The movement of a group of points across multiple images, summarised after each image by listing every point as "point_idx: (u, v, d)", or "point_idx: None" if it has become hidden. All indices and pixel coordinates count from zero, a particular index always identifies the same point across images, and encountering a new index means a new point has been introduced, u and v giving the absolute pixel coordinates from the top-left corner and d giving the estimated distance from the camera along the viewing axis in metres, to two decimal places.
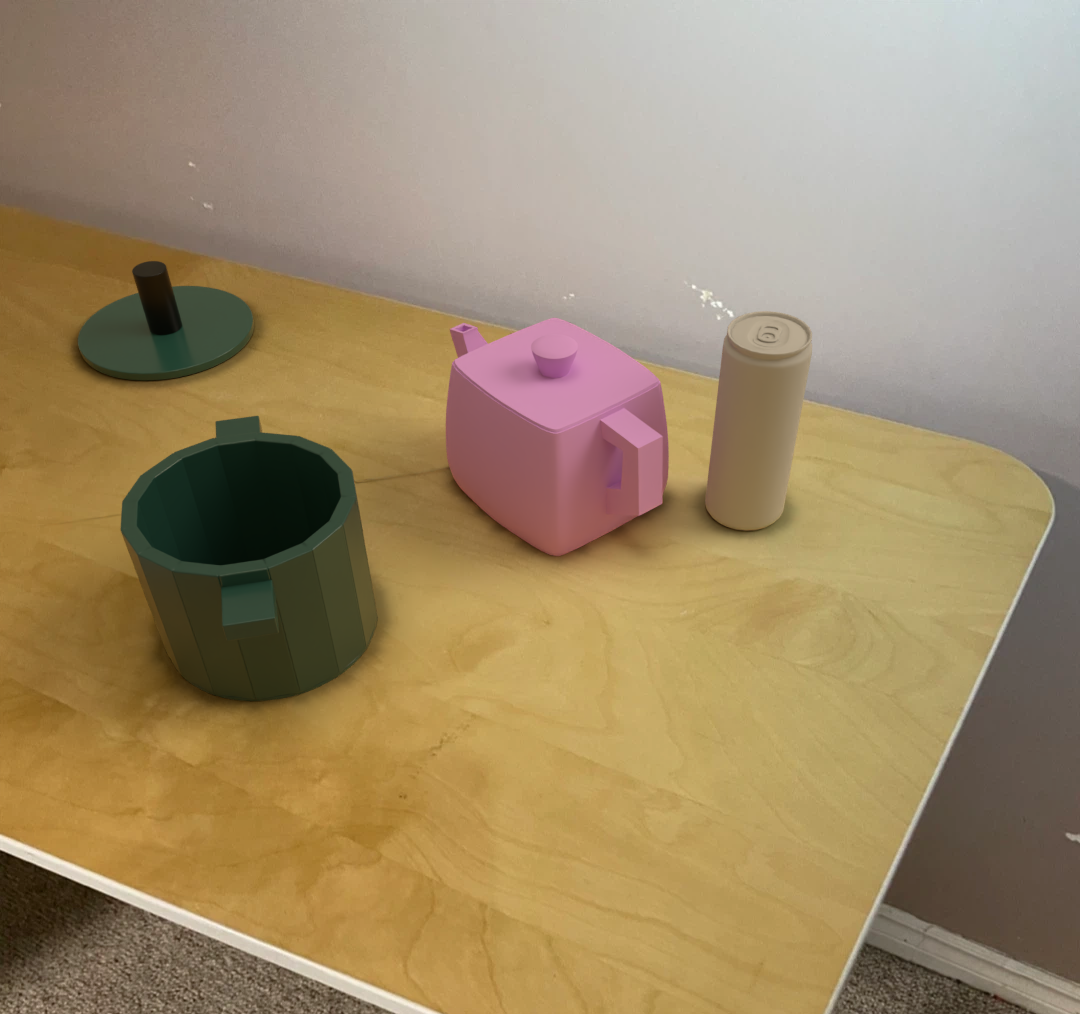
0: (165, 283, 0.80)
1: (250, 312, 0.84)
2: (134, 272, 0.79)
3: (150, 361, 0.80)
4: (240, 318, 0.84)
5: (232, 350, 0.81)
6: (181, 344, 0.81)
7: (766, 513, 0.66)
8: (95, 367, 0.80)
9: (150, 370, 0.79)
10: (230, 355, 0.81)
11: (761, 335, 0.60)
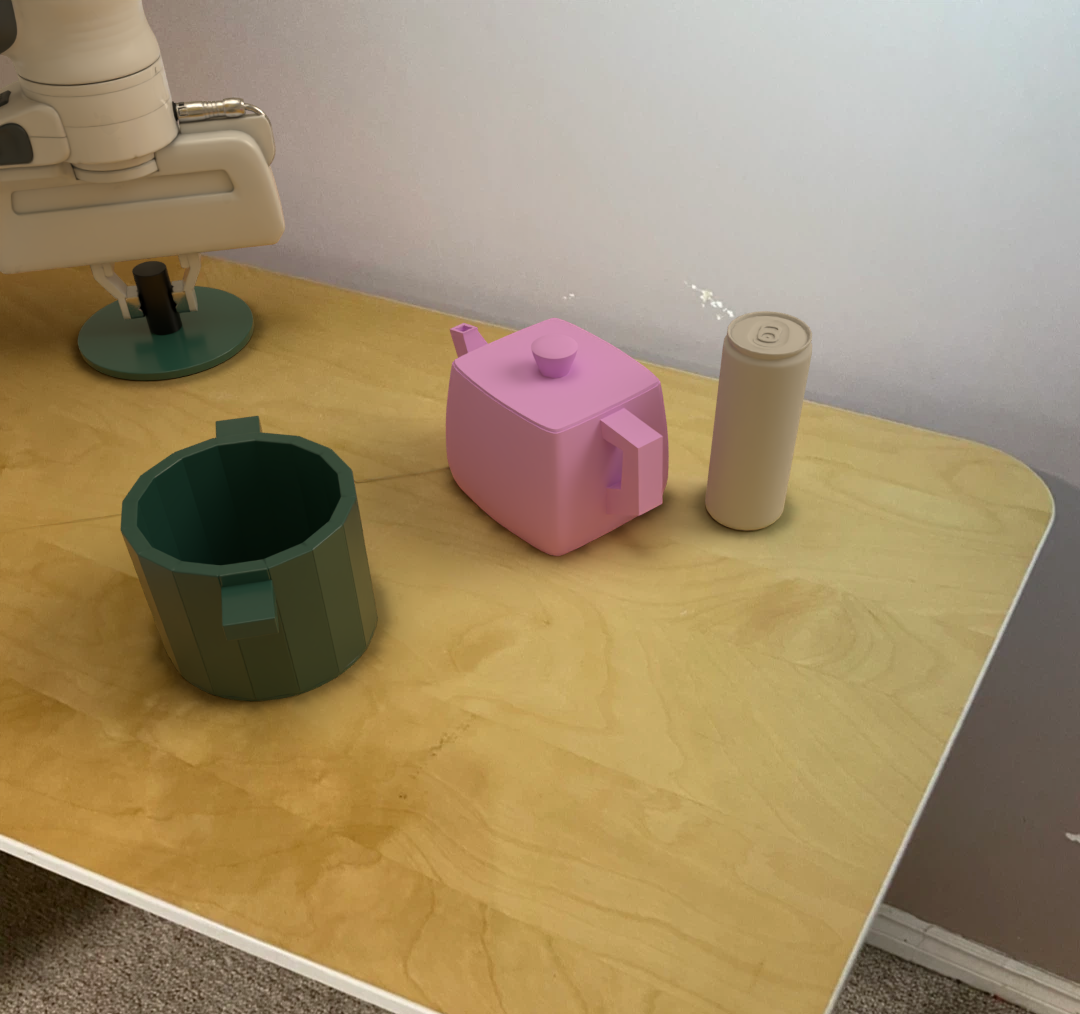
0: (165, 283, 0.80)
1: (250, 312, 0.84)
2: (134, 272, 0.79)
3: (150, 360, 0.80)
4: (240, 318, 0.84)
5: (232, 350, 0.81)
6: (181, 344, 0.81)
7: (766, 513, 0.66)
8: (95, 367, 0.80)
9: (150, 370, 0.79)
10: (230, 355, 0.81)
11: (761, 335, 0.60)
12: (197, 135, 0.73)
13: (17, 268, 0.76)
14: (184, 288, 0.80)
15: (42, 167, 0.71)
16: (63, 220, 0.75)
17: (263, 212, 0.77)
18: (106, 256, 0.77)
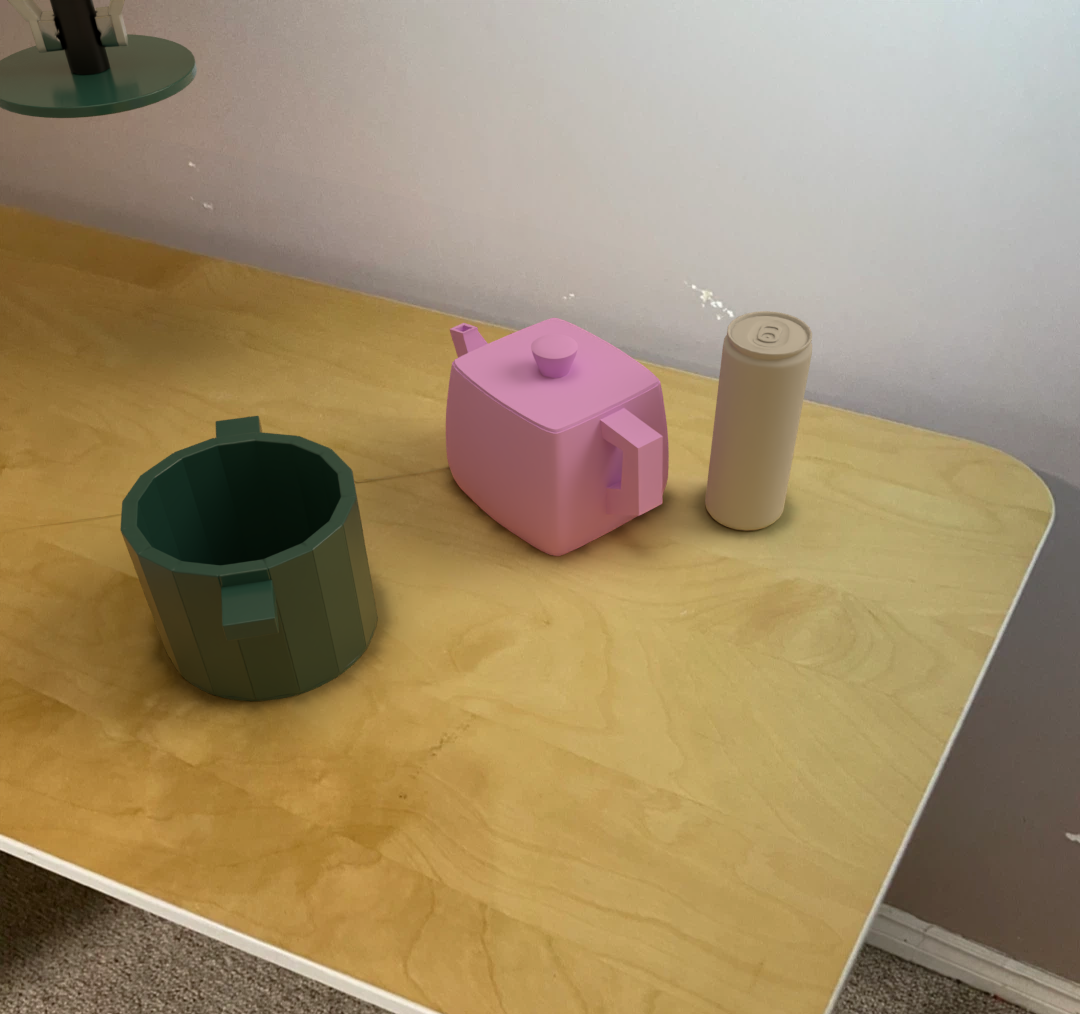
0: (87, 4, 0.66)
1: (192, 56, 0.71)
2: None
3: (68, 97, 0.66)
4: (180, 61, 0.70)
5: (168, 90, 0.68)
6: (106, 83, 0.68)
7: (766, 513, 0.66)
8: (2, 104, 0.67)
9: (67, 105, 0.66)
10: (165, 95, 0.68)
11: (761, 335, 0.60)
12: None
13: None
14: (110, 11, 0.67)
15: None
16: None
17: None
18: None
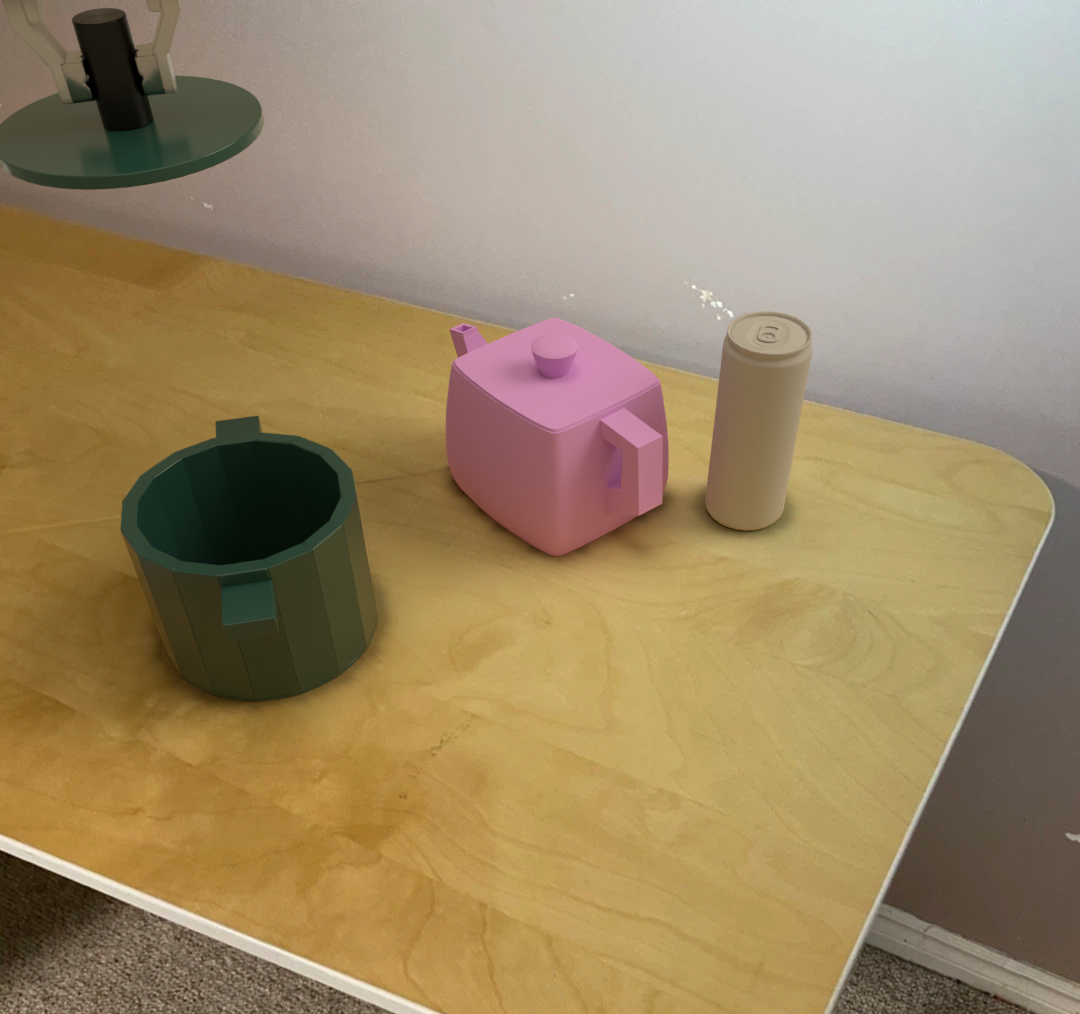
0: (124, 39, 0.51)
1: (258, 102, 0.55)
2: (75, 20, 0.50)
3: (102, 161, 0.51)
4: (242, 109, 0.55)
5: (231, 148, 0.52)
6: (150, 141, 0.52)
7: (766, 513, 0.66)
8: (16, 173, 0.51)
9: (101, 173, 0.50)
10: (227, 155, 0.52)
11: (761, 335, 0.60)
12: None
13: None
14: (154, 50, 0.51)
15: None
16: None
17: None
18: None
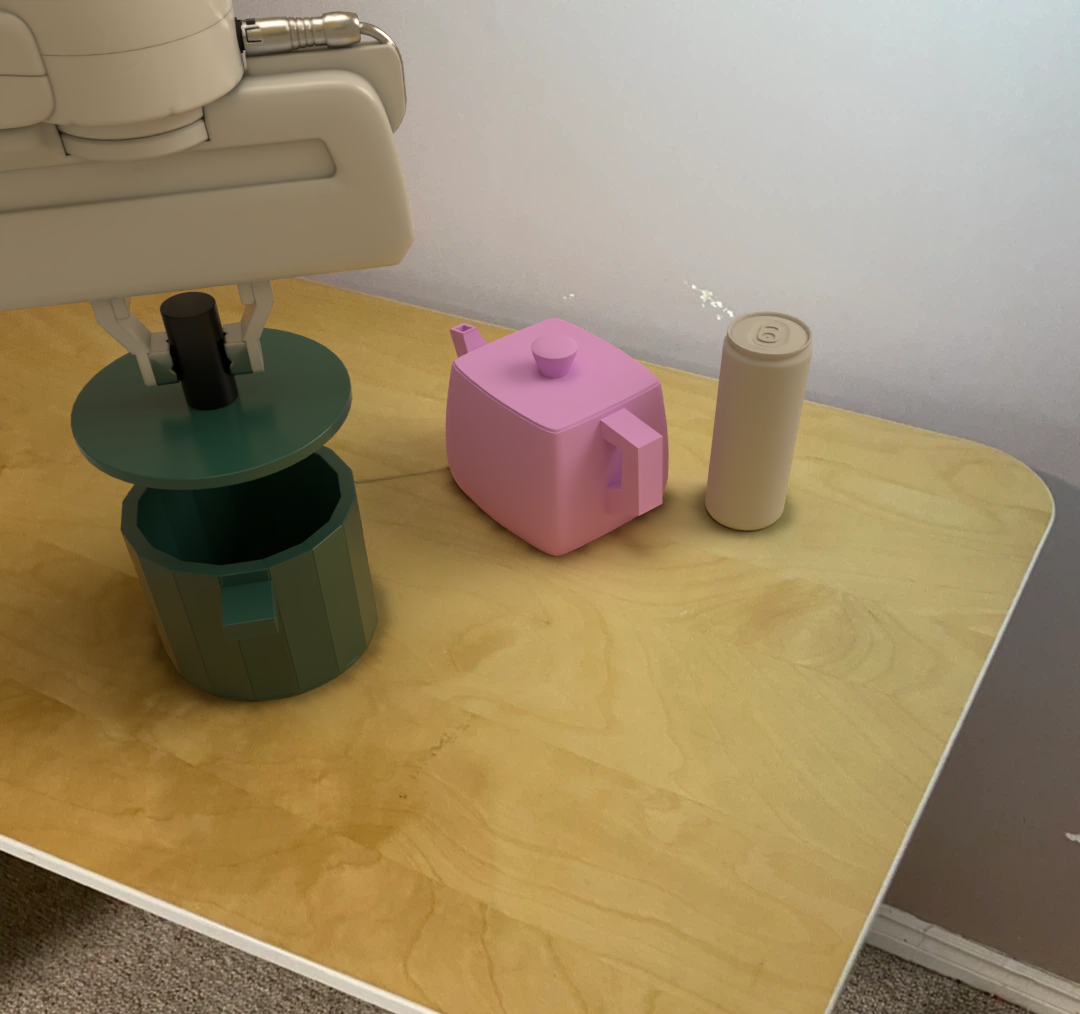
0: (214, 328, 0.49)
1: (346, 370, 0.53)
2: (163, 310, 0.48)
3: (190, 456, 0.49)
4: (330, 381, 0.52)
5: (323, 437, 0.50)
6: (238, 427, 0.50)
7: (766, 513, 0.66)
8: (99, 466, 0.49)
9: (190, 473, 0.48)
10: (319, 445, 0.50)
11: (761, 335, 0.60)
12: (277, 77, 0.42)
13: None
14: (245, 337, 0.49)
15: (5, 132, 0.40)
16: (44, 227, 0.43)
17: (383, 212, 0.46)
18: (118, 287, 0.45)
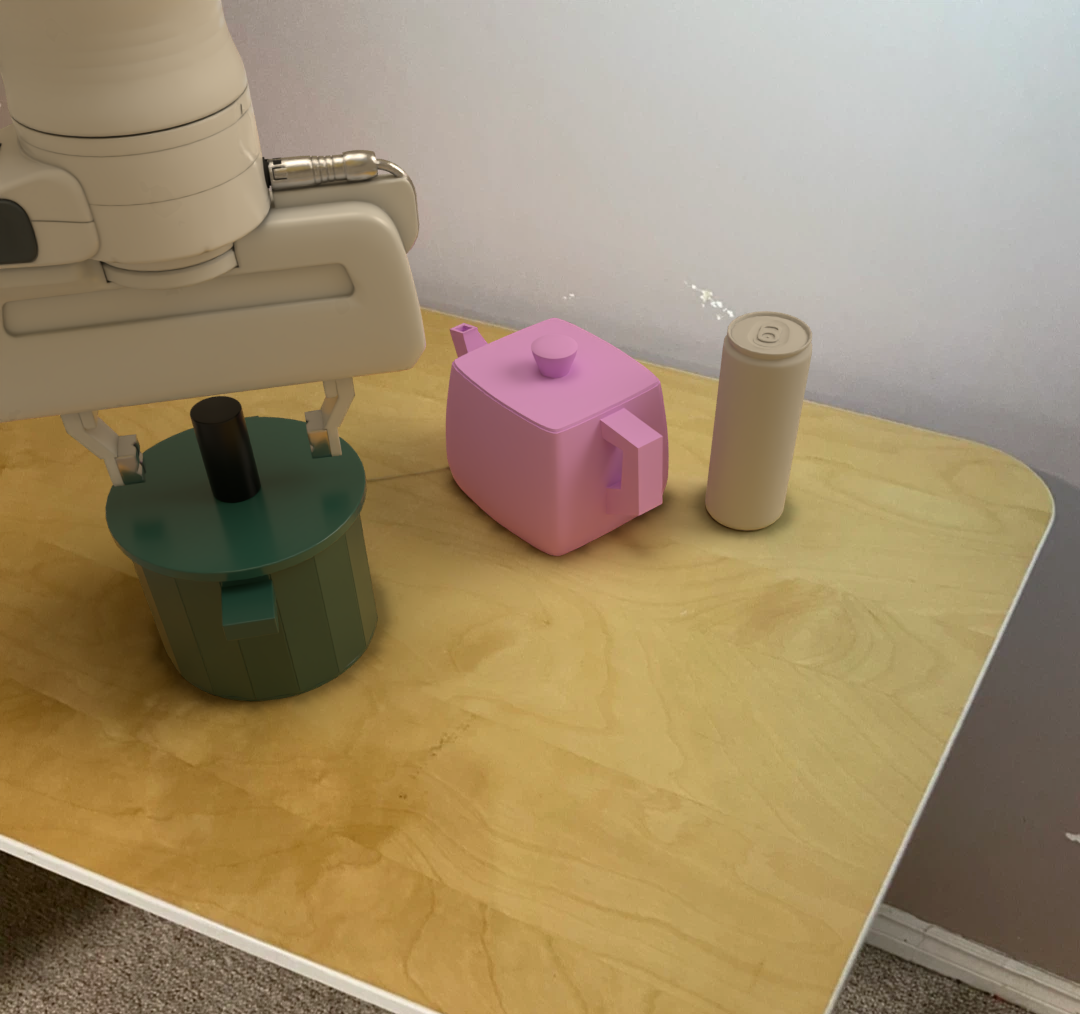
0: (240, 431, 0.53)
1: (360, 462, 0.57)
2: (193, 416, 0.52)
3: (217, 549, 0.52)
4: (346, 473, 0.56)
5: (340, 530, 0.54)
6: (261, 520, 0.54)
7: (766, 513, 0.66)
8: (133, 559, 0.53)
9: (218, 567, 0.52)
10: (337, 537, 0.54)
11: (761, 335, 0.60)
12: (301, 209, 0.46)
13: (12, 414, 0.49)
14: (326, 425, 0.53)
15: (53, 267, 0.43)
16: (86, 344, 0.47)
17: (397, 325, 0.49)
18: (151, 394, 0.49)
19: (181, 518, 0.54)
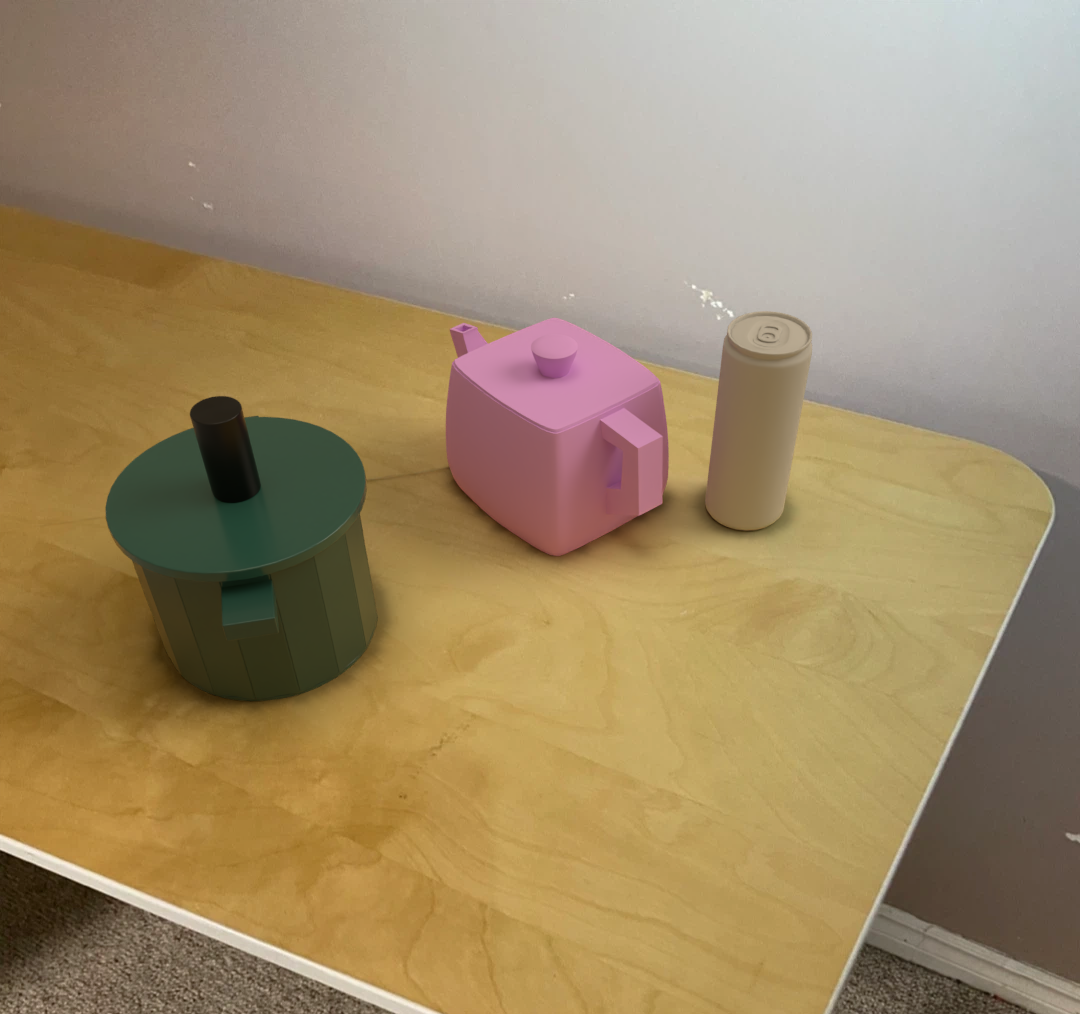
0: (240, 431, 0.53)
1: (360, 462, 0.57)
2: (193, 416, 0.52)
3: (217, 549, 0.52)
4: (346, 473, 0.56)
5: (340, 530, 0.54)
6: (261, 520, 0.54)
7: (766, 513, 0.66)
8: (133, 559, 0.53)
9: (218, 567, 0.52)
10: (337, 537, 0.54)
11: (761, 335, 0.60)
12: None
13: None
14: None
15: None
16: None
17: None
18: None
19: (181, 518, 0.54)
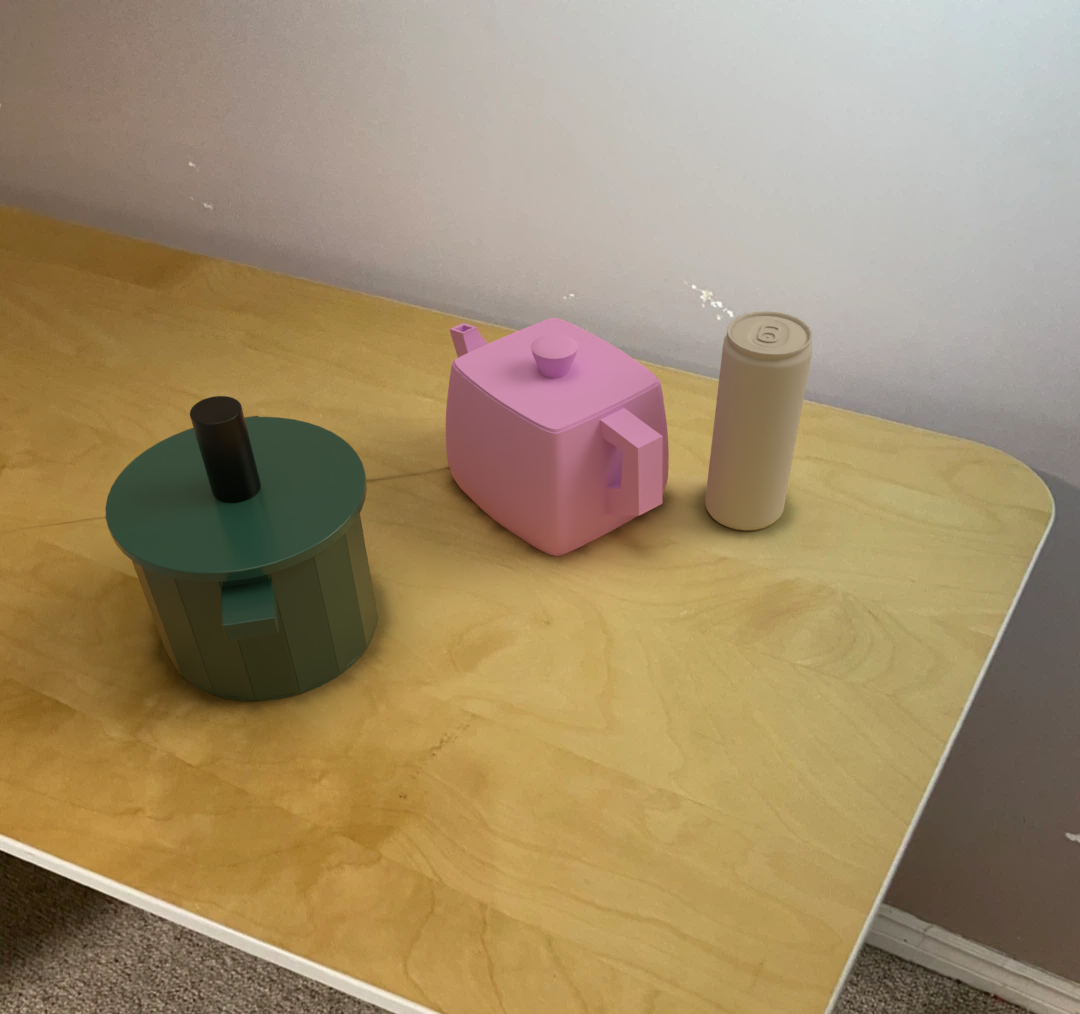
0: (240, 431, 0.53)
1: (360, 462, 0.57)
2: (193, 416, 0.52)
3: (217, 549, 0.52)
4: (346, 473, 0.56)
5: (340, 530, 0.54)
6: (261, 520, 0.54)
7: (766, 513, 0.66)
8: (133, 559, 0.53)
9: (218, 567, 0.52)
10: (337, 537, 0.54)
11: (761, 335, 0.60)
12: None
13: None
14: None
15: None
16: None
17: None
18: None
19: (181, 518, 0.54)
